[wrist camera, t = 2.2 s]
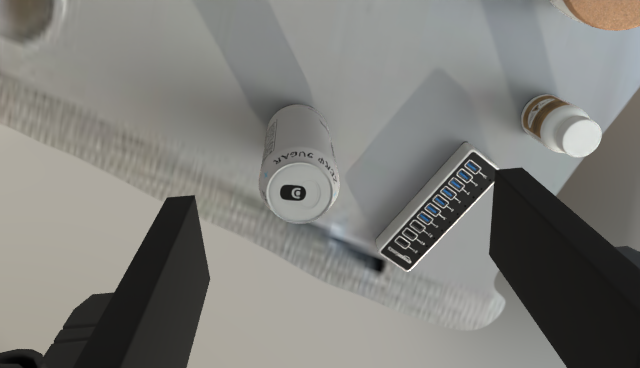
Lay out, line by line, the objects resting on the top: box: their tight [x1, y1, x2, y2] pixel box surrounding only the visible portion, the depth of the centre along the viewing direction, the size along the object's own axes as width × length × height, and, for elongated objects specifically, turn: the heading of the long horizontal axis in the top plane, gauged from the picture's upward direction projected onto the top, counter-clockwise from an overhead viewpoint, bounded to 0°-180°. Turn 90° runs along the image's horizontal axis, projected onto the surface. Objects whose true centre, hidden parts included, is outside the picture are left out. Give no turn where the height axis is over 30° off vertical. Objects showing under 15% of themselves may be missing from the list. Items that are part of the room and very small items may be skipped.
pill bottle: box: [521, 94, 602, 157], centre depth 47 cm, size 4×4×8 cm
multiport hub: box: [375, 142, 500, 272], centre depth 53 cm, size 4×14×2 cm, turn 142°
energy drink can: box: [259, 105, 340, 224], centre depth 43 cm, size 6×6×15 cm
